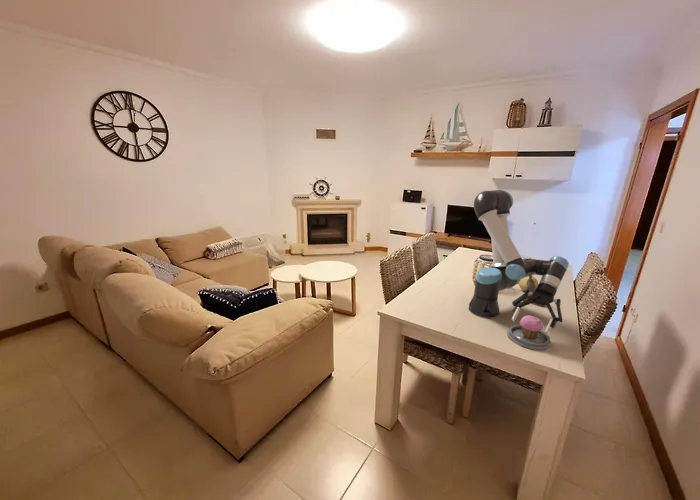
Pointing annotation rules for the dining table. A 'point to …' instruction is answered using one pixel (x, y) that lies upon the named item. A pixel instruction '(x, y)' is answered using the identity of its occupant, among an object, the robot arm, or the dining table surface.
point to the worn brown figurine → (531, 290)
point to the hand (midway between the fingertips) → (528, 326)
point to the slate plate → (535, 344)
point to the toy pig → (523, 282)
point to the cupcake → (531, 326)
